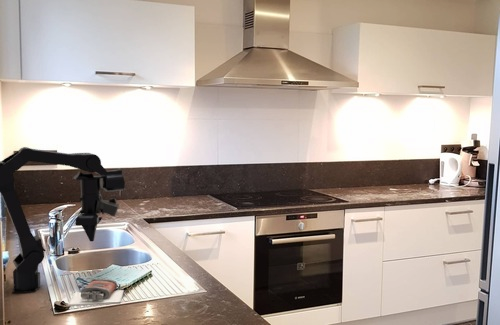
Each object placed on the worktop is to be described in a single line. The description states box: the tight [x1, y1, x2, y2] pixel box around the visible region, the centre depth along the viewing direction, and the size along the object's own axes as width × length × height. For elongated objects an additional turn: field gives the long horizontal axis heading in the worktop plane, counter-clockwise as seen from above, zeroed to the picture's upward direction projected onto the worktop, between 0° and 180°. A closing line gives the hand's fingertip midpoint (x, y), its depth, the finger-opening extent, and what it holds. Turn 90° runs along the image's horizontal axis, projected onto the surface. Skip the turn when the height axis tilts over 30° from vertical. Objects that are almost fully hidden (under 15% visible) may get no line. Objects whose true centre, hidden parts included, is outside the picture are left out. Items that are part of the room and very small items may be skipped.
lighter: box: [80, 278, 118, 300], centre depth 139 cm, size 8×3×10 cm
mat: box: [67, 289, 125, 307], centre depth 139 cm, size 14×9×1 cm, turn 99°
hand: (92, 241), depth 155 cm, fingers closed
